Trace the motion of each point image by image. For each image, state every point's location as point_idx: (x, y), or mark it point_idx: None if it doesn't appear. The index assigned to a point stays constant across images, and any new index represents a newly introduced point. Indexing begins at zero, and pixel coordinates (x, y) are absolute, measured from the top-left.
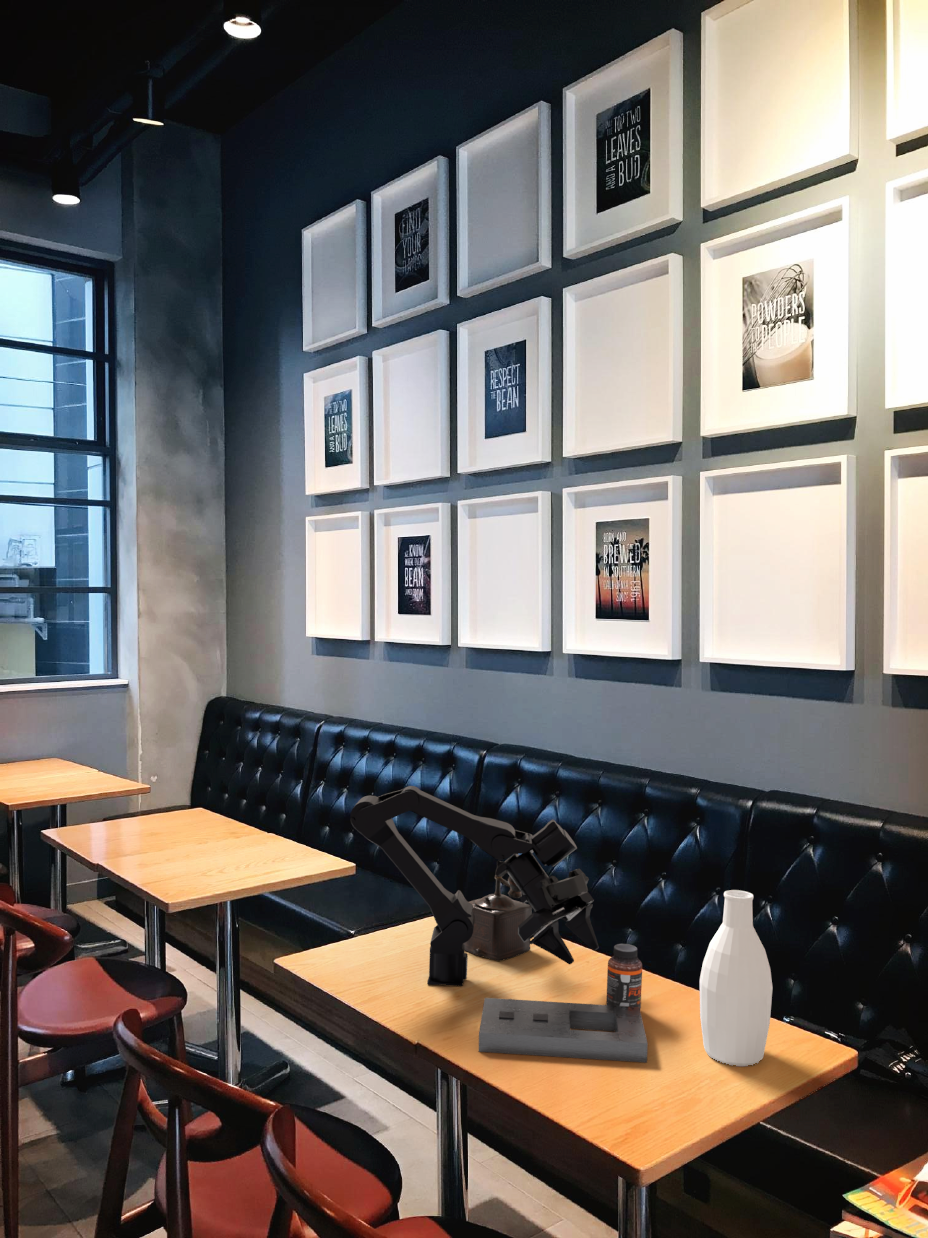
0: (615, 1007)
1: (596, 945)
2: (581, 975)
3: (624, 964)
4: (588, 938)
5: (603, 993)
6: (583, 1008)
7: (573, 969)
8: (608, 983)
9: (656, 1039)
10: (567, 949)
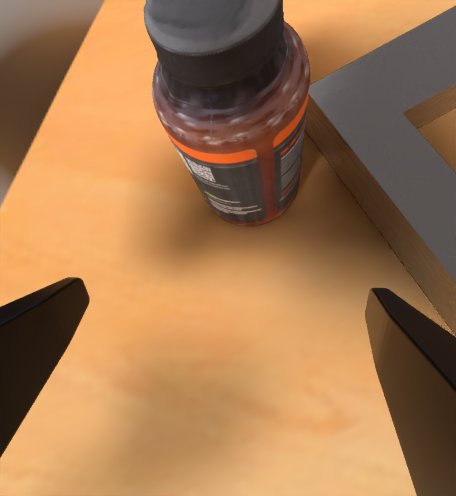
0: (359, 131)
1: (73, 283)
2: (52, 409)
3: (290, 30)
4: (34, 343)
5: (155, 286)
6: (449, 203)
7: (14, 458)
8: (289, 167)
9: (348, 63)
10: (423, 335)
